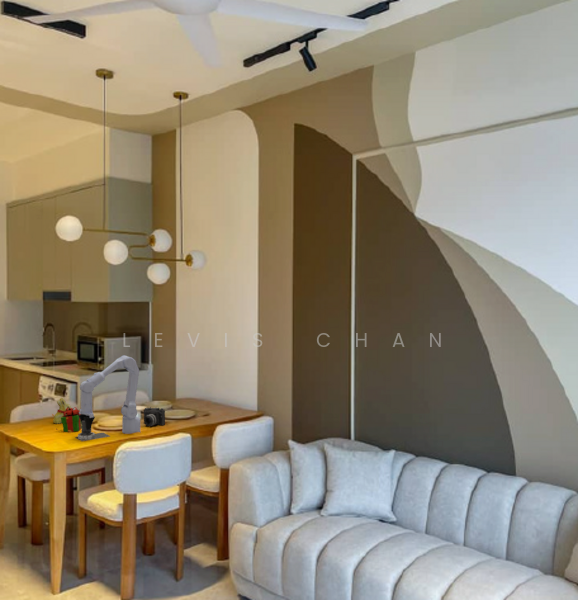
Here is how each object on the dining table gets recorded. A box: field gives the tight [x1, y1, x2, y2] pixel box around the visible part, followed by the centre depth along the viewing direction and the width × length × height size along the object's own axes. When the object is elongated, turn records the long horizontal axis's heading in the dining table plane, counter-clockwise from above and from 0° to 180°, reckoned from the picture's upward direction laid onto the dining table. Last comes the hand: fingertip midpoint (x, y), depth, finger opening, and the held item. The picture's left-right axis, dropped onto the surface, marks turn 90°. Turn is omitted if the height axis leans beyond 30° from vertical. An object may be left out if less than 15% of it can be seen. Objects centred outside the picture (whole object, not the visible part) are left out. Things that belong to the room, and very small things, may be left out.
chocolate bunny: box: [52, 397, 72, 425], centre depth 357 cm, size 7×11×15 cm, turn 137°
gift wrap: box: [51, 406, 82, 434], centre depth 333 cm, size 20×19×14 cm
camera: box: [143, 406, 166, 427], centre depth 354 cm, size 14×11×10 cm
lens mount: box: [74, 431, 111, 442], centre depth 322 cm, size 16×10×3 cm, turn 131°
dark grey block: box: [81, 420, 92, 433], centre depth 320 cm, size 5×5×6 cm
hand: (86, 428), depth 320 cm, fingers closed on dark grey block, 5 cm apart
